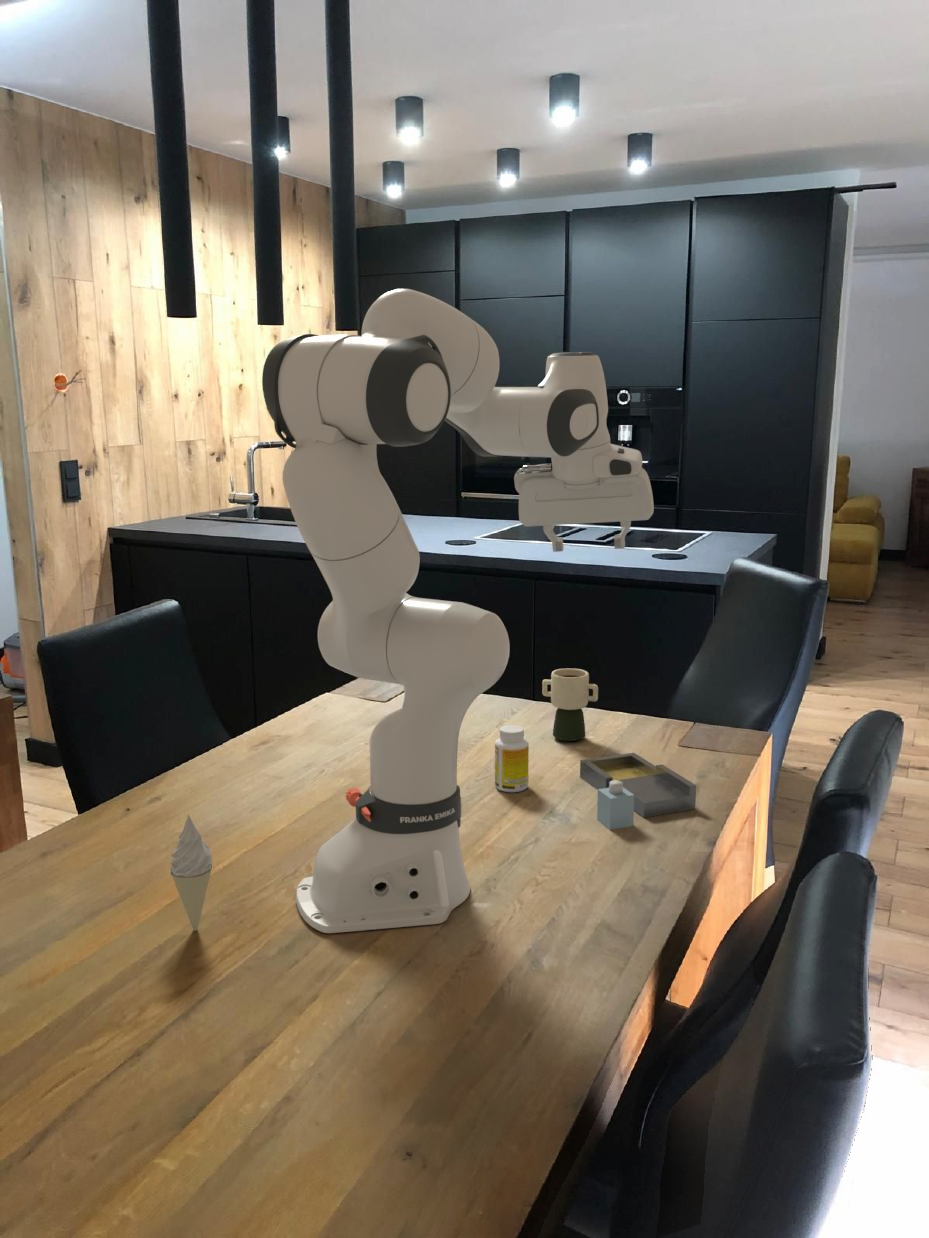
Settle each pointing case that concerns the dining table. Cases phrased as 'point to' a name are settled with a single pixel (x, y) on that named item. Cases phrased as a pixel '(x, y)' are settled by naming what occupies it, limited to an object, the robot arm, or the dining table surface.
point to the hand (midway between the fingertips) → (588, 549)
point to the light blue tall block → (615, 806)
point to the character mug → (569, 701)
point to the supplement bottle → (511, 759)
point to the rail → (642, 783)
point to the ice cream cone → (191, 871)
